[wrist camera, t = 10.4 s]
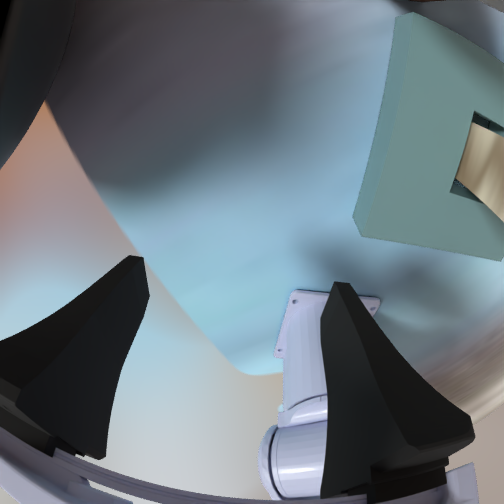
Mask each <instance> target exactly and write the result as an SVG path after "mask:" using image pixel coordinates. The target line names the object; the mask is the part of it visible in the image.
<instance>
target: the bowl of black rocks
mask: <svg viewBox="0 0 504 504" xmlns="http://www.w3.org/2000/svg"><path fill="white" fill-rule="evenodd" d="M75 5H76V0H0V169H1V168H2V167H3V165H4V164H5V163H6V161H7V160H8V159H9V157H10V156H11V155H12V153H13V152H14V150H15V149H16V147H17V146H18V144H19V143H20V141H21V140H22V138H23V137H24V135H25V134H26V132H27V130H28V129H29V127H30V125H31V123H32V122H33V120H34V118H35V116H36V115H37V113H38V111H39V109H40V107H41V105H42V104H43V102H44V100H45V98H46V95H47V93H48V91H49V89H50V87H51V85H52V82H53V80H54V78H55V75H56V73H57V71H58V68H59V65H60V63H61V60H62V57H63V54H64V51H65V48H66V45H67V42H68V38H69V35H70V31H71V27H72V22H73V17H74V12H75Z"/></svg>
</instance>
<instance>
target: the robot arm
mask: <svg viewBox="0 0 504 504" xmlns="http://www.w3.org/2000/svg"><path fill="white" fill-rule="evenodd" d="M149 297H150V294H149V289H148V283H147V278H146V271H145V265H144V258H143V257H139V256H131V255H129V256H128V257H126V258H125V259H123V260H122V261H121V262H120V263H119V264H117V265H116V266H115V267H114V268H112V269H111V270H110V271H109V272H108V273H106V274H105V275H104V276H103V277H101V278H100V279H99V280H98V281H96V282H95V283H94V284H93V285H92V286H90V287H89V288H88V289H86V290H85V291H84V292H82V293H81V294H80V295H78V296H77V297H76V298H75V299H73V300H72V301H71V302H69V303H68V304H66V305H65V306H64V307H62V308H61V309H59V310H58V311H56V312H55V313H53V314H52V315H50V316H48V317H47V318H45V319H43V320H42V321H40V322H38V323H36V324H34V325H33V326H31V327H29V328H27V329H25V330H23V331H21V332H19V333H17V334H15V335H13V336H11V337H8V338H6V339H4V340H1V341H0V487H1V488H2V489H4V490H5V491H6V492H7V493H8V494H9V495H10V496H11V497H13V498H14V499H15V500H16V501H17V502H19V503H20V504H133V502H131V501H128V500H126V499H123V498H120V497H117V496H114V495H111V494H108V493H106V492H103V491H100V490H97V489H95V488H92V487H91V486H90V484H89V482H88V480H87V479H89V480H91V481H93V482H96V483H98V484H101V485H104V486H106V487H109V488H112V489H115V490H117V491H120V492H123V493H126V494H129V495H133V496H136V497H139V498H143V499H146V500H150V501H154V502H158V503H162V504H479V498H478V489H477V481H476V474H475V469H474V463H473V462H471V463H469V464H466V465H464V466H461V467H458V468H456V469H453V470H450V471H448V472H445V466H447V465H448V464H449V459H448V456H450V455H452V454H454V453H455V452H457V451H459V450H461V449H463V448H464V447H466V446H467V445H469V444H470V443H472V442H473V440H474V439H475V433H474V429H473V425H472V421H471V417H470V416H469V415H468V414H467V413H465V412H464V411H462V410H461V409H459V408H458V407H457V406H455V405H454V404H452V403H451V402H450V401H448V400H447V399H446V398H445V397H443V396H442V395H441V394H440V393H439V392H437V391H436V390H435V389H434V388H433V387H432V386H431V385H430V384H428V383H427V382H426V381H425V380H424V379H423V378H422V377H421V376H420V375H419V374H418V373H417V372H416V371H415V370H414V369H413V368H412V367H411V365H410V364H409V363H408V362H407V361H406V360H405V359H404V358H403V356H402V355H401V354H400V353H399V352H398V351H397V349H396V348H395V347H394V346H393V344H392V343H391V342H390V340H389V339H388V338H387V337H386V335H385V334H384V333H383V331H382V330H381V329H380V327H379V326H378V324H377V323H376V322H375V320H374V319H373V317H374V315H375V313H376V311H377V309H378V307H379V306H380V300H379V299H378V298H374V297H362V296H358V295H357V294H356V292H355V291H354V289H353V288H352V286H351V285H350V283H343V282H334V284H333V286H332V289H331V292H330V293H321V292H312V291H303V290H294V291H292V292H291V294H290V297H289V301H288V305H287V308H286V312H285V315H284V319H283V323H282V326H281V330H280V333H279V336H278V340H277V343H276V347H275V350H274V357H276V358H283V408H284V412H279V413H278V424H277V425H273V426H271V427H270V428H269V429H268V431H267V432H266V434H265V436H264V437H263V439H262V441H261V443H260V447H259V451H258V470H259V476H260V479H261V482H262V484H263V486H264V487H265V489H266V490H267V491H268V493H269V495H270V497H271V499H272V500H255V499H240V498H230V497H221V496H213V495H207V494H200V493H194V492H189V491H183V490H178V489H174V488H169V487H165V486H161V485H157V484H153V483H149V482H145V481H142V480H138V479H135V478H132V477H128V476H125V475H122V474H119V473H116V472H113V471H110V470H108V469H105V468H102V467H99V466H97V465H94V464H92V463H89V462H87V461H85V460H82V459H80V458H78V457H75V455H76V454H78V455H81V456H83V457H84V456H85V455H87V456H89V457H92V458H94V459H97V460H101V459H103V458H104V457H106V448H107V438H108V429H109V423H110V416H111V410H112V406H113V401H114V397H115V392H116V388H117V384H118V380H119V377H120V373H121V370H122V367H123V364H124V362H125V359H126V357H127V354H128V352H129V350H130V347H131V345H132V342H133V340H134V338H135V336H136V333H137V331H138V329H139V326H140V324H141V321H142V319H143V317H144V314H145V310H146V307H147V303H148V300H149ZM295 299H296V300H295ZM294 300H295V301H294Z"/></svg>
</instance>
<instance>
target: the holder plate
mask: <svg viewBox="0 0 504 504" xmlns="http://www.w3.org/2000/svg"><path fill="white" fill-rule="evenodd" d="M473 113H474V114H476V115H478V116H480V117H482V118H484V119H485V120H487V121H489V122H490V123H489V127H488V130H490V131H492V132H494V133H496V134H498V135H500V136H502V137H504V63H503V62H501V61H500V60H498V59H497V58H496V57H494V56H493V55H491V54H490V53H488V52H487V51H485V50H484V49H482V48H481V47H479V46H478V45H476V44H474V43H473V42H471V41H469V40H468V39H466V38H464V37H463V36H461V35H459V34H457V33H455V32H454V31H452V30H450V29H448V28H446V27H444V26H442V25H440V24H438V23H436V22H434V21H432V20H430V19H428V18H426V17H424V16H421V15H419V14H417V13H415V12H411V13H408V14H404V15H401V16H398V17H396V18H395V27H394V35H393V42H392V49H391V55H390V62H389V68H388V73H387V79H386V84H385V90H384V95H383V100H382V105H381V109H380V114H379V119H378V123H377V128H376V132H375V136H374V140H373V144H372V148H371V152H370V156H369V160H368V164H367V168H366V172H365V175H364V179H363V183H362V186H361V190H360V193H359V197H358V200H357V203H356V207H355V210H354V213H353V219H354V221H355V223H356V226H357V228H358V230H359V232H360V235H361V237H368V238H374V239H380V240H386V241H392V242H398V243H404V244H410V245H416V246H422V247H427V248H433V249H438V250H444V251H449V252H455V253H460V254H465V255H470V256H475V257H480V258H485V259H490V260H495V261H500V262H501V260H502V259H503V257H504V222H503V221H502V220H501V219H500V218H499V217H498V216H497V215H496V214H495V213H494V212H493V211H492V210H491V209H490V208H489V207H488V206H487V205H486V204H484V203H483V202H482V201H481V200H480V199H479V198H478V197H477V196H476V195H475V194H473V193H472V192H471V191H470V190H469V189H467V188H464V187H461V186H458V185H455V184H453V181H454V178H455V175H456V172H457V169H458V166H459V163H460V160H461V157H462V154H463V150H464V147H465V144H466V140H467V136H468V133H469V129H470V125H471V121H472V117H473Z"/></svg>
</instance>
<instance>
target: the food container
mask: <svg viewBox="0 0 504 504" xmlns="http://www.w3.org/2000/svg"><path fill="white" fill-rule="evenodd" d="M410 1H417V2H429V1H444V0H410ZM479 1H481V2H482V3H484V4H487V5H489V6H491V7H493V8H495V9H496V10H498V11H500V12H503V13H504V0H479Z"/></svg>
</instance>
